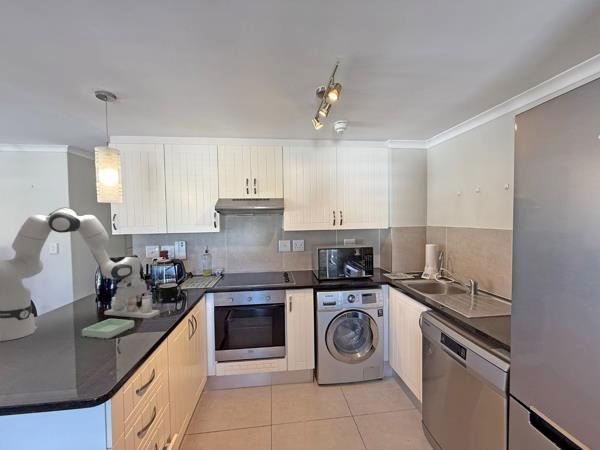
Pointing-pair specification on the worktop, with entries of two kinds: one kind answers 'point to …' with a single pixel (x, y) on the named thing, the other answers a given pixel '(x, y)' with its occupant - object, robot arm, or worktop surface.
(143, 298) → the fuse right
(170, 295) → the mug
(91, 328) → the tray
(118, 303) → the fuse left
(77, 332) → the worktop surface
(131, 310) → the fuse marked
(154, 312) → the holder
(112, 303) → the medicine bottle
